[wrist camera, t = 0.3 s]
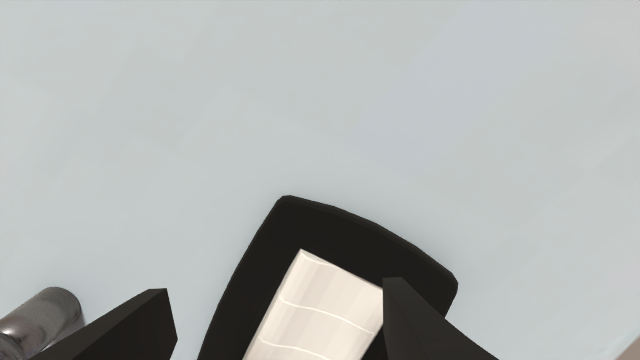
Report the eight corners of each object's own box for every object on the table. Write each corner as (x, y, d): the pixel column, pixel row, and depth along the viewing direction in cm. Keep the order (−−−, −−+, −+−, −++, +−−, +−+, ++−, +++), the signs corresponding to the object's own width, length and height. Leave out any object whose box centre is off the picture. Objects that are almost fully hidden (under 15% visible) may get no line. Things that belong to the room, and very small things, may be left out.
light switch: (269, 181, 18) (489, 289, 18) (280, 171, 21) (470, 264, 21) (161, 421, 23) (336, 504, 23) (182, 386, 25) (338, 460, 26)
